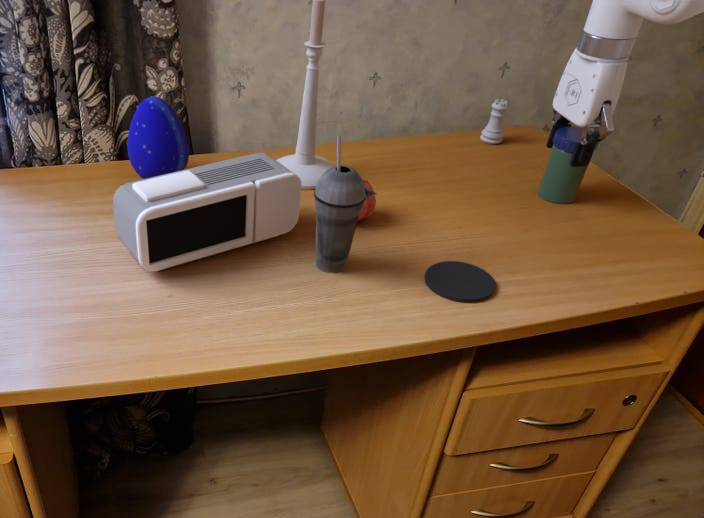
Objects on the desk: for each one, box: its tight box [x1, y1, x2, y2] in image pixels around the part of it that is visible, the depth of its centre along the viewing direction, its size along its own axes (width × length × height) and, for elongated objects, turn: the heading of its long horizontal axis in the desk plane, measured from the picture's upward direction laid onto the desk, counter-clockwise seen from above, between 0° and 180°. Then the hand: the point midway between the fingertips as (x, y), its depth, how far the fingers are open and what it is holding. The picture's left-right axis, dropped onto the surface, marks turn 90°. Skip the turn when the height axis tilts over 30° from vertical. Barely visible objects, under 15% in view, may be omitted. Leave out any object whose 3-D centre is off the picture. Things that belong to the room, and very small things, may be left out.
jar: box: [537, 143, 589, 205], centre depth 117 cm, size 6×6×10 cm
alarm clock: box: [112, 151, 302, 272], centre depth 103 cm, size 27×9×12 cm, turn 119°
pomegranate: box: [357, 179, 378, 222], centre depth 112 cm, size 7×7×10 cm
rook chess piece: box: [479, 98, 509, 145], centre depth 136 cm, size 4×4×8 cm
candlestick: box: [275, 0, 336, 191], centre depth 117 cm, size 13×13×30 cm
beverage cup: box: [313, 133, 366, 274], centre depth 96 cm, size 7×7×20 cm
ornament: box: [126, 95, 190, 180], centre depth 119 cm, size 11×9×15 cm
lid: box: [553, 126, 599, 152], centre depth 114 cm, size 7×7×2 cm
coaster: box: [424, 260, 497, 304], centre depth 99 cm, size 10×10×1 cm
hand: (566, 155), depth 116 cm, fingers closed on lid, 6 cm apart
